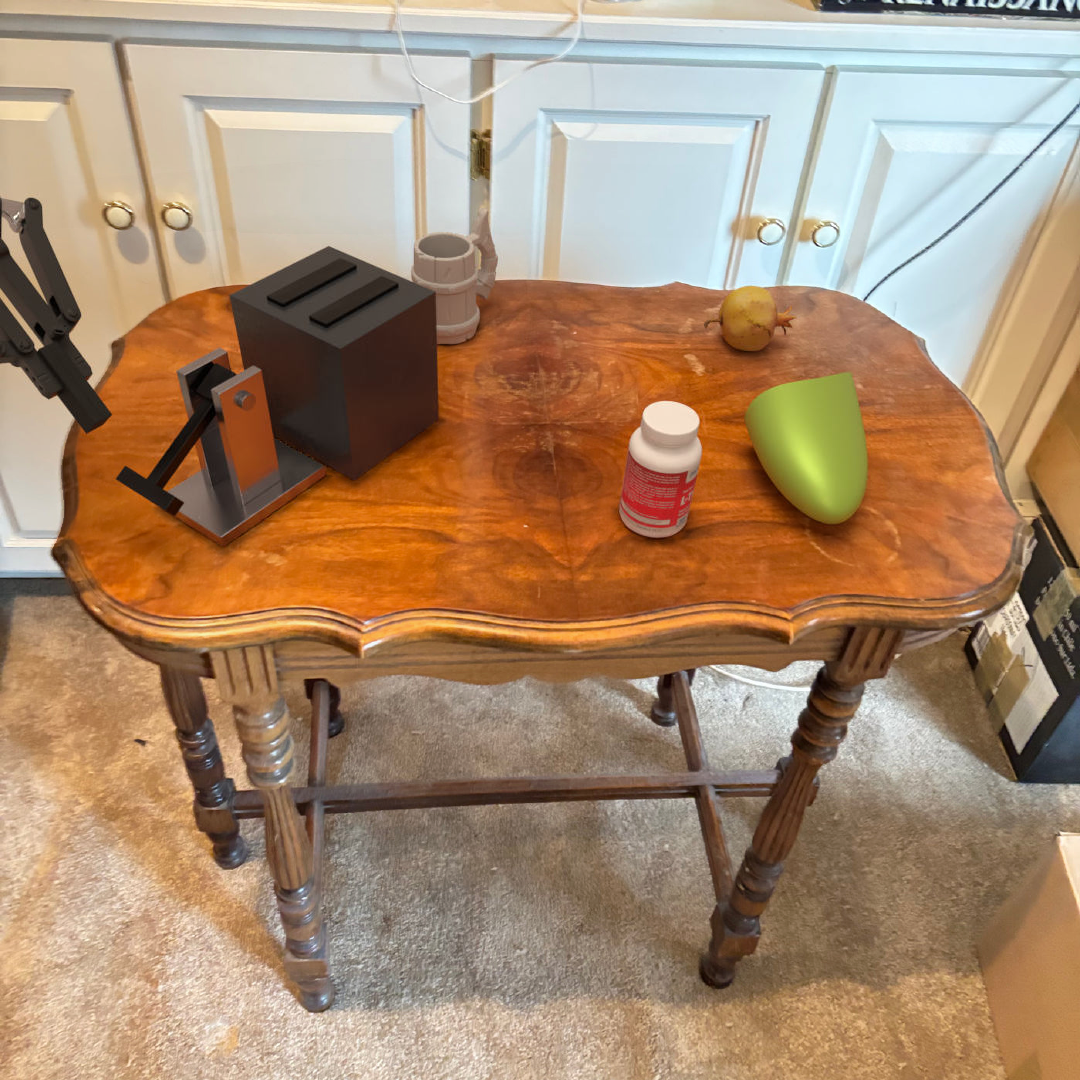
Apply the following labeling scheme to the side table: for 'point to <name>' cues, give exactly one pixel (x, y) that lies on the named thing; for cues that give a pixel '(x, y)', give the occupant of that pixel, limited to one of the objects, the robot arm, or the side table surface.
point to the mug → (456, 277)
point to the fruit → (750, 318)
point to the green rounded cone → (813, 444)
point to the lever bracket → (237, 456)
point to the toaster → (342, 357)
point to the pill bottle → (661, 470)
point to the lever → (177, 448)
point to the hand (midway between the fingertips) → (99, 424)
